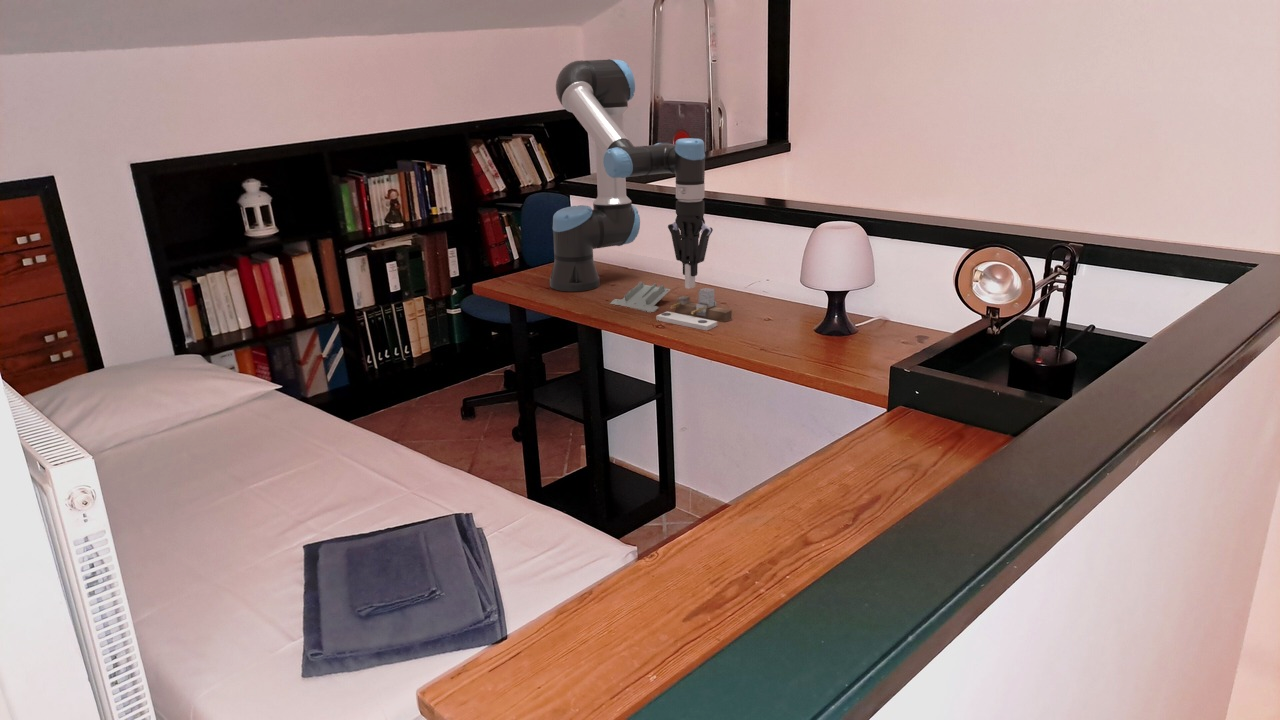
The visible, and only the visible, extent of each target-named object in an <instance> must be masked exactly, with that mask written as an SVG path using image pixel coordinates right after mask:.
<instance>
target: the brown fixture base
mask: <svg viewBox="0 0 1280 720" xmlns="http://www.w3.org/2000/svg"><path fill="white" fill-rule="evenodd" d="M696 304H698V303H697V302H696V303H695V302H690V296H687V295H682V296H680V297H677V298H676V302H675V303H674V304H672V305H669V306H670V307H669V309H672V310H673V309H674V308H675V313H678V314H683V315H688V316H693V317H698V318H703V319H708V320H713V321H717V322H724V323H726V322H728V321H731V320H732V314H733V309H727V308H722V307H717V306H716V307H710V308H707V316H706V317H705V316H700V315H696V313H695V314H691V312H692V311H694V310H696Z"/></svg>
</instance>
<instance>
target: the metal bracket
mask: <svg viewBox="0 0 1280 720" xmlns="http://www.w3.org/2000/svg"><path fill="white" fill-rule="evenodd" d="M670 292H671V289H670V288H665V285H659V286H657V282H654V283H653V284H652V285H647V284H644V282H642V281H639V282H638V283H637V285H636V286H635V287H633V288H631V289H630V290H629V291H627V292H626V293H625V294H624V296H623V298H622V299H619V298H614V299H613V300H612V301H611V302H609V305H610V304H615V305H621V306H627V307H630V308H629V309H632V308H635V309H634V310H637V309H638V311H641V312H642V311H643V312H646V311H647V313H651V312H654V313H655V312H656V311H658V309H659V306H657V305H656V304H658V303H659V302H660V301H661V300H662V299H663V298H664V297H665V296H666V295H667V294H669V293H670ZM615 305H614V306H615ZM621 306H620V307H621ZM627 307H626V308H627Z"/></svg>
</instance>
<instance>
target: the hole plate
mask: <svg viewBox="0 0 1280 720" xmlns="http://www.w3.org/2000/svg"><path fill="white" fill-rule="evenodd" d="M655 317H656V318H655V319H656V320H655V321H658V320H659V321H660V322H664V323H668V324H671V325H673V324H674V325H678V326H683V327H687V328H692V329H697V330H703V331H709V330H711V329H714V328H716V327H718V320H713V319H708V318H703V317H698V316H693V315H688V314H683V313H678V312H673V311H665V312H661V313H660V314H657V315H656V316H655Z"/></svg>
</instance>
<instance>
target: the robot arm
mask: <svg viewBox="0 0 1280 720" xmlns="http://www.w3.org/2000/svg"><path fill="white" fill-rule="evenodd" d="M555 92H556V96H557V99H558V101H559V103H560V104H561V106H562V107H563V108H564V109H565V110H566V111H567V112H569V113H572V114H573V115H574V116H575V118H576V120H577V121H578V122H579V124H580V125H581V126H582V127H583V128H584V130H585V131H586V132H587V134H588V135H589V137H591V139H592V140H593V141H594V145H595V146H594V147H595V166H596V167H595V168H596V185H597V188H596V189H597V196H596V198H595V199H594V201H592V205H593V209H592V207H591V206H589V205H585V204H583V205H572V206H567V207H563V208H561V209H558V210H557V211H556V212H554V214H553V216H552V234H553V253H554V256H553V257H554V263H553V266H552V269H551V274H550V276H549V287H550V288H551V289H552V290H556V291H561V292H583V291H584V292H586V291H589V290H591V291H592V290H594V289H596V288H598V287H599V286H600V284H601V282H600V281H601V280H600V279H601V278H600V275H599V274H598V271H597V266H596V264H595V261H594V250H596V249H604V248H609V247H622V246H623V245H628V244H630V243H633V242H634V241H635V240H636V238H637V237H638V234H639V232H640V228H641V217H640V214H639V210H638V208H637V207H635V206H634V205H632V200H631V199H630V197H628V196H627V181H626V178H631V177H639V176H651V175H658V174H659V175H660V174H673V175H675V199H677V200H676V201H675V214H676V218H675V221H674V222H672V223H670V224H668V226H667V228H668V230H669V232H670V235H671V236H670V237H671V240H672V245H673V249H674V254H675V260H676V261H679V262H681V264H682V275H683V276H684V288H685V289H688V290H690V289H692V288H695V287H696V276H697V275H698V269H699V267H698V265H699V264H701V263H703V262H705V259H706V254H707V250H708V249H707V248H708V245H709V239H710V236H711V234H712V233H713V230H714V229H713V227H709V226H708V225H706V221H705V219H704V215H705V200H704V198H706V197H705V194H706V193H705V171H706V168H705V165H706V153H705V142H704V140H703V139H702V138H693V137H691V138H689V137H688V138H687V137H684V138H679V139H676V141H675V144H673V143H670V142H658V143H655V144H652V145H641V146H640V145H639V146H635V145H634V144H633V143H632V142H631V141H630V140H629V139H628V137H627V136H626V135H625V130H624V112H625V111H626V110H627V109H628V108H629V106H628V102H629V101H631V100H632V99H633V98H634V95H635V92H636V83H635V76H634V73H633V71H632V69H631V67H630V66H629V64H628V63H627V62H626V61H623V60H621V59H611V58H610V59H589V60H582V59H581V60H574V61H571V62H569V63H567V64H566V65H565V66H564V67H563V68H562V69H561V70H560V72H559V73H558V75H557V79H556V82H555ZM700 233H701V234H700Z"/></svg>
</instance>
